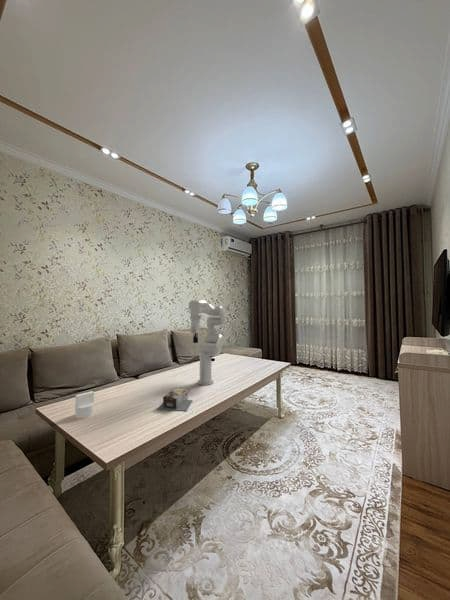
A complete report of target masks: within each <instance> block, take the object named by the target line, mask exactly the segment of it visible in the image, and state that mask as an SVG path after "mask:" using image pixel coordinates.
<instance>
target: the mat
mask: <svg viewBox="0 0 450 600" xmlns="http://www.w3.org/2000/svg"><path fill="white" fill-rule="evenodd" d="M192 403H193V399H187V400H186V401H185V402H184V403H182V404H181V405H180V406H179V407H177V408H176V409H174V408H168V407H163V402H162V403H161V404H160V405H159V406H158V407H157V409H156V410H157V411H173V412H174V411H175V412H188V409H189V408H190V406H191V404H192Z"/></svg>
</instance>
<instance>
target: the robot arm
mask: <svg viewBox="0 0 450 600" xmlns="http://www.w3.org/2000/svg"><path fill="white" fill-rule="evenodd" d="M188 308H189V310H190V320H191V322H190V334H193V335H192V339H193V340H192V343H193V344H197V343H198V342H199V333H200V331H201V330H200V329H201V325H200V321H201V320H202V314H206V315H208V317H206V328H207V332H206V334H205V337H204V340H203V343H202V342H201V343H200V344H199V345H198V354H199V380H197V384H199V386H200V385H201V386H209V385H212V384H213V383H214V380H213V379H212V365H213V364H212V358H211V357H212V356H214V357H215V356H216V357H217V356H220V353H221V350H222V346H223V344H224V336H223V335H222V333H221V334H220V333H218V330H217V328H216V327H223V326H225V325H226V324H227V323H226V322H227V319H226V315H225V311H224V308H223V306H221V305H212V304H211V303H208V302H207V301H206V300H200V299H199V300H198V299H197V300H196V299H195V300H193V299H192V300H190V301H189V302H188ZM210 356H211V357H210Z"/></svg>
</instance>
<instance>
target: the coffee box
mask: <svg viewBox="0 0 450 600" xmlns="http://www.w3.org/2000/svg"><path fill="white" fill-rule="evenodd" d="M188 391H189V390H188V389H184V388H178V387H177V388H174V389H173V390H171V391H169V392H168V393H167V394H165V395H163V396H162V403H163V407H168V408H174V409H176V408H177V407H179V406H180V405H181V404H182V403H184V402H185V401H186V400H189V397H188V394H189V392H188Z"/></svg>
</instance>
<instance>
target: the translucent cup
mask: <svg viewBox="0 0 450 600" xmlns="http://www.w3.org/2000/svg"><path fill="white" fill-rule="evenodd" d="M94 393H95V392H94V391H93V390H91V391H90V390H89V391H88V392H84V393H83V392H82V393H79V394H76V395H75V405H74V406H75V412H74V413H75V415H74V416H75V417H76V418H75V419H77V418H84V419H87V417H88V418H90V417H92V416H93V415H94V411H95V410H94V408H95V407H94V406H95V405H94V403H95V399H94V397H95V394H94Z"/></svg>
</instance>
